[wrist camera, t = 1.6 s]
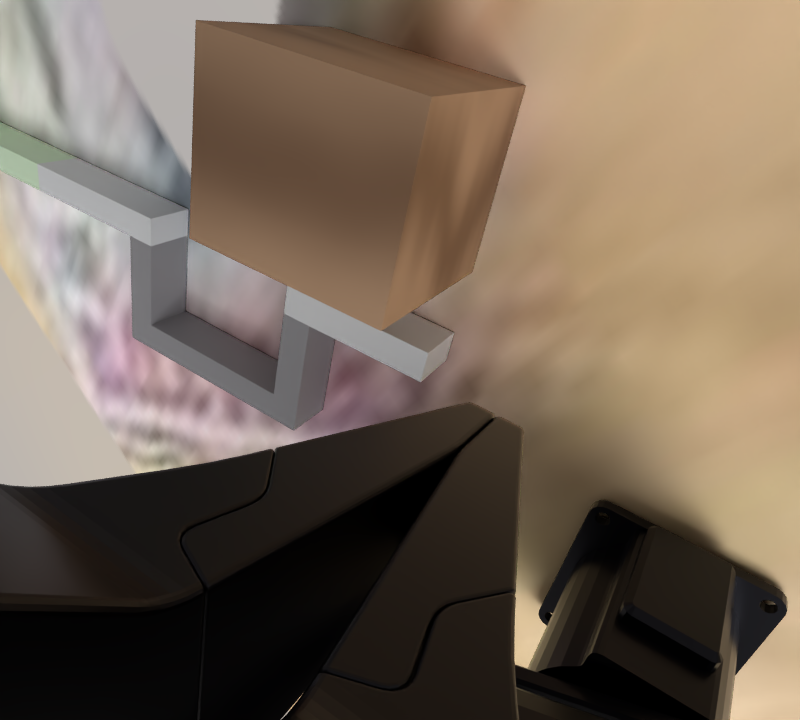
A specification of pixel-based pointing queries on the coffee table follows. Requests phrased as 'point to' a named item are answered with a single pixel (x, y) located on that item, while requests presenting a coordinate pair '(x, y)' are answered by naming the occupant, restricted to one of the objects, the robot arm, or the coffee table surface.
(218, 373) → the trap pockets
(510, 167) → the coffee table surface
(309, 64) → the walnut block
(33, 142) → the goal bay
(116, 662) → the robot arm
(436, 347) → the lane
